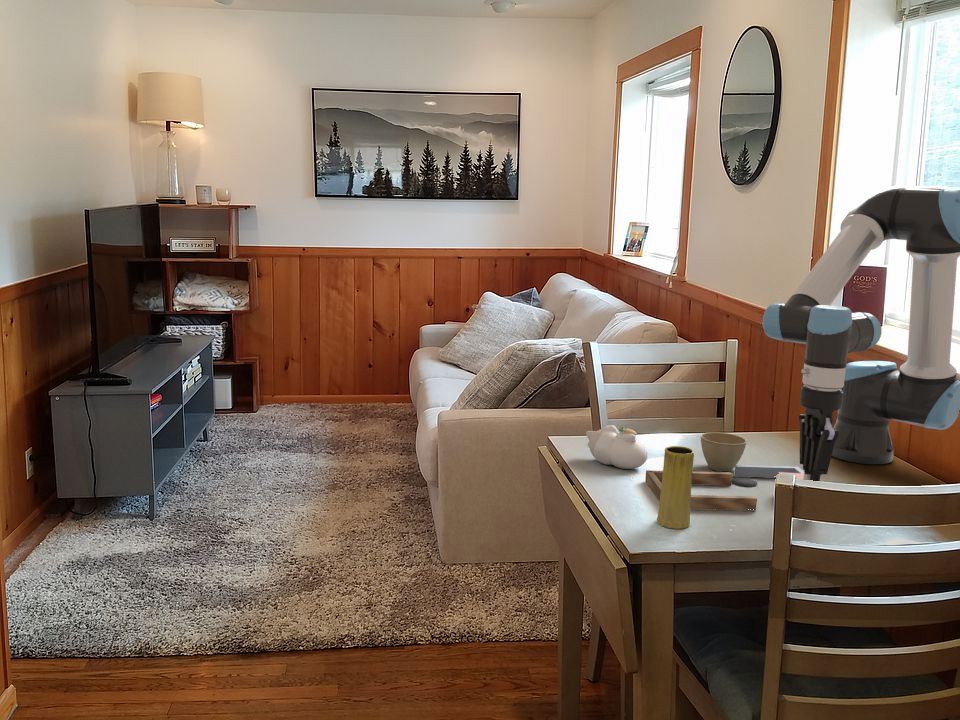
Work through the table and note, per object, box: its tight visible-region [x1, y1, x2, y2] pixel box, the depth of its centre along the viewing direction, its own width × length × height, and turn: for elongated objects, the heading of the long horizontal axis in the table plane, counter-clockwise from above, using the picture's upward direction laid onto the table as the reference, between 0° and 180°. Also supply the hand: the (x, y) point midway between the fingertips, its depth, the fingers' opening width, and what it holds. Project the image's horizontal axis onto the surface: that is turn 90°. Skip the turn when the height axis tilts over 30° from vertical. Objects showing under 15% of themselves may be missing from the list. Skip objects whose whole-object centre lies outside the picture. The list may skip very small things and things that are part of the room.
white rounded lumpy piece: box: [585, 424, 648, 470], centre depth 204 cm, size 10×8×15 cm
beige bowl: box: [700, 431, 748, 472], centre depth 204 cm, size 10×10×7 cm
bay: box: [734, 464, 805, 479], centre depth 195 cm, size 14×10×2 cm
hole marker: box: [731, 477, 758, 488], centre depth 195 cm, size 5×5×1 cm
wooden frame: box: [644, 469, 758, 511], centre depth 186 cm, size 18×16×2 cm
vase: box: [656, 445, 695, 530], centre depth 168 cm, size 6×6×14 cm
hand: (808, 504), depth 178 cm, fingers closed
